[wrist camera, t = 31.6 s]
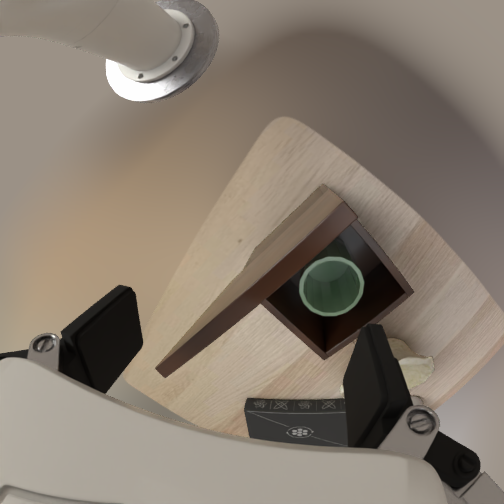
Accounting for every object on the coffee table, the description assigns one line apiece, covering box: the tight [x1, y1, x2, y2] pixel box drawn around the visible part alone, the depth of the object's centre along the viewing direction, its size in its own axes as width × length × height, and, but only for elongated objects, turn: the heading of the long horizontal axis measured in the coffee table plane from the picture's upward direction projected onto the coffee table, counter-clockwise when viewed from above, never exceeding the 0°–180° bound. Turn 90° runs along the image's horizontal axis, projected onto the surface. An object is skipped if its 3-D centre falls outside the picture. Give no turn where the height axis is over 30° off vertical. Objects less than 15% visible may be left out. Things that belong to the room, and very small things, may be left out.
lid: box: [155, 189, 358, 378], centre depth 18 cm, size 14×13×1 cm
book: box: [244, 398, 348, 447], centre depth 45 cm, size 22×15×3 cm
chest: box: [243, 184, 414, 360], centre depth 31 cm, size 14×13×10 cm
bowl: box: [340, 338, 435, 398], centre depth 34 cm, size 15×14×10 cm
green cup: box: [299, 237, 364, 316], centre depth 31 cm, size 7×7×8 cm
